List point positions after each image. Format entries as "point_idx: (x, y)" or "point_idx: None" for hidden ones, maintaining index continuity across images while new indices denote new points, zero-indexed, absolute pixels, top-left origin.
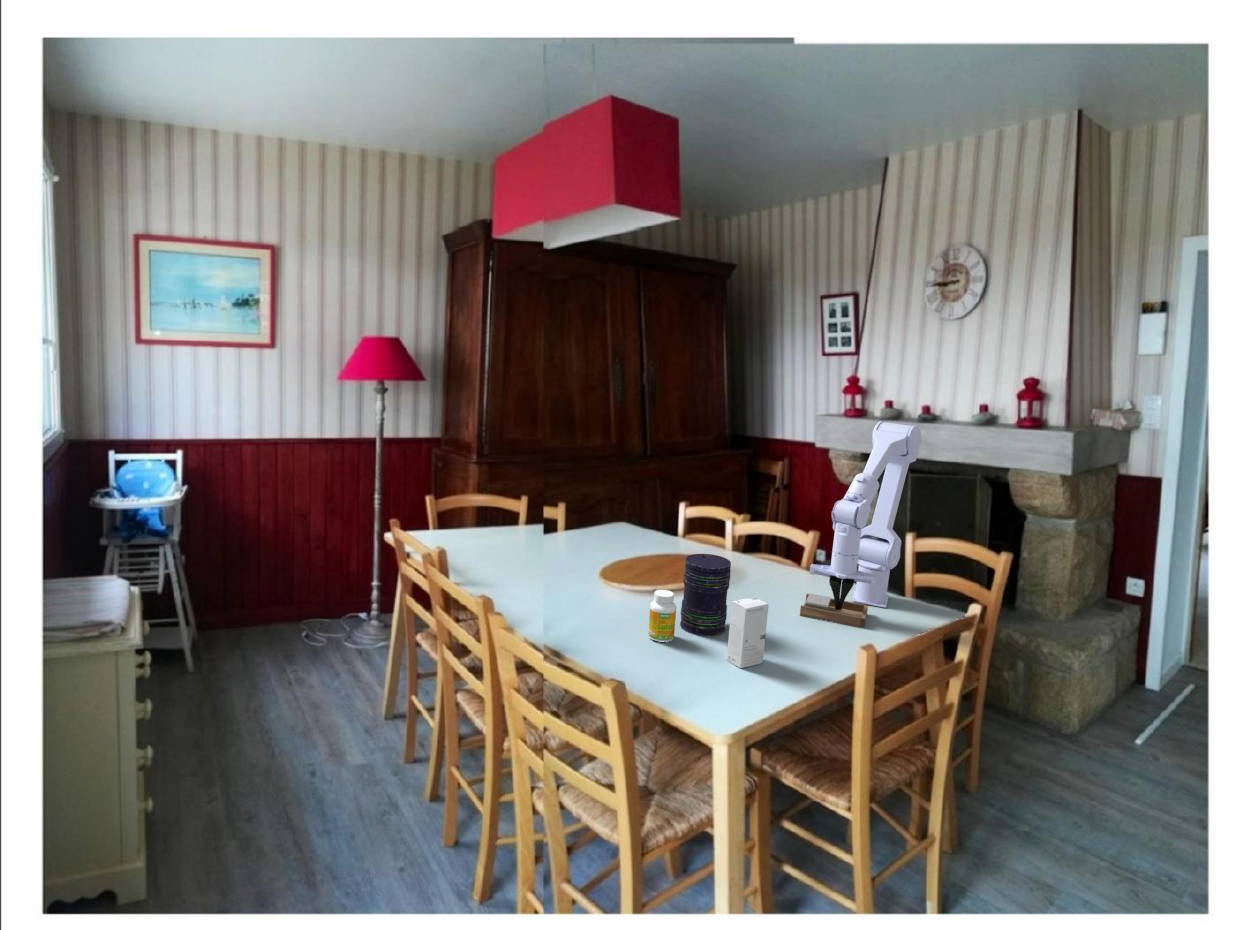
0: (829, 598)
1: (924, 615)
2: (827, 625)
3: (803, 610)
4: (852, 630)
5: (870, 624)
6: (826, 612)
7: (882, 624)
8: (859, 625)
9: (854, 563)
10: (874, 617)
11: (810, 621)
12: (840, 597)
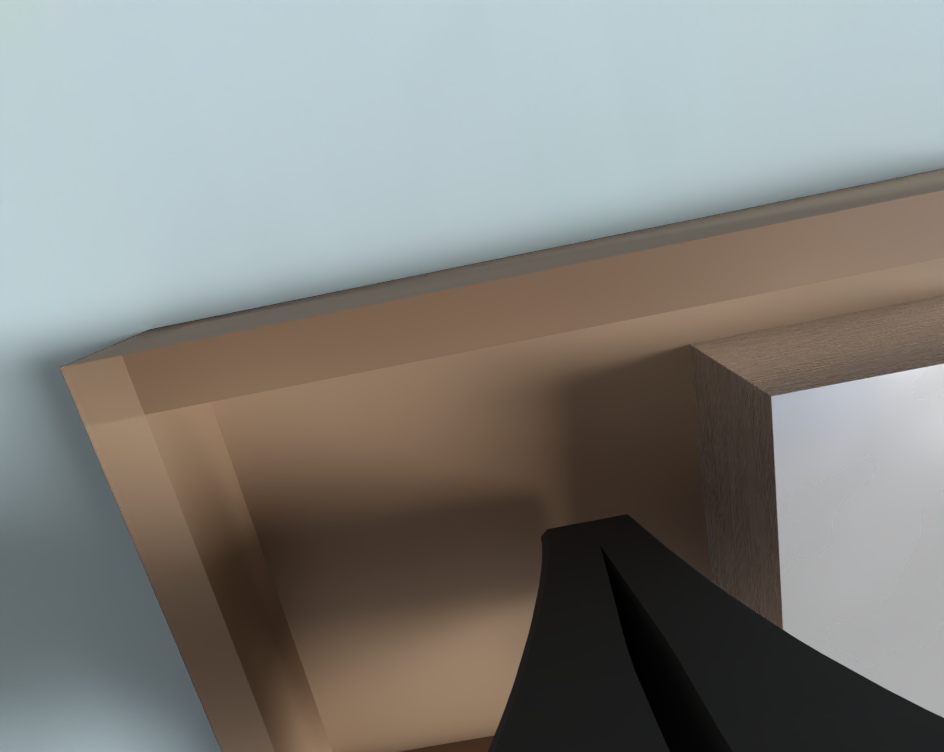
0: None
1: None
2: (598, 56)
3: None
4: (237, 136)
5: None
6: (724, 228)
7: (55, 618)
8: (198, 323)
9: None
10: (215, 744)
11: (864, 25)
12: (627, 661)
